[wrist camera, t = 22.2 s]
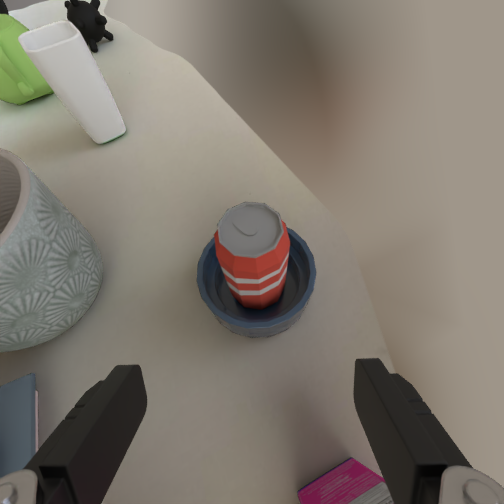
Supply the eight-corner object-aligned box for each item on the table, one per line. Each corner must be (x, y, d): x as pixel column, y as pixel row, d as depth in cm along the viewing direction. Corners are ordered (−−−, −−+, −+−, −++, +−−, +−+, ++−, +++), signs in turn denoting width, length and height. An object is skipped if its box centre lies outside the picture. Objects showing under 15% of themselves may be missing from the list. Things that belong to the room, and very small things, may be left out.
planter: (7, 403, 27) (-255, 411, 13) (-28, 287, 34) (-224, 217, 20) (149, 298, 31) (59, 226, 18) (93, 215, 38) (-2, 119, 25)
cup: (97, 153, 45) (26, 54, 32) (84, 132, 48) (14, 34, 35) (135, 134, 47) (83, 34, 34) (120, 116, 50) (67, 17, 37)
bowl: (316, 253, 33) (323, 231, 28) (298, 352, 27) (303, 343, 23) (225, 234, 35) (219, 211, 31) (192, 322, 30) (178, 309, 25)
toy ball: (123, 15, 65) (111, 19, 57) (109, 56, 71) (96, 66, 62) (76, -23, 60) (55, -25, 52) (64, 25, 65) (44, 30, 57)
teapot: (-7, 77, 60) (-72, 3, 49) (57, 56, 64) (10, -19, 52) (3, 125, 51) (-75, 47, 39) (79, 97, 54) (27, 17, 42)
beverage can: (256, 252, 33) (249, 184, 22) (295, 285, 30) (307, 226, 20) (220, 285, 31) (194, 228, 20) (258, 322, 28) (251, 280, 18)
